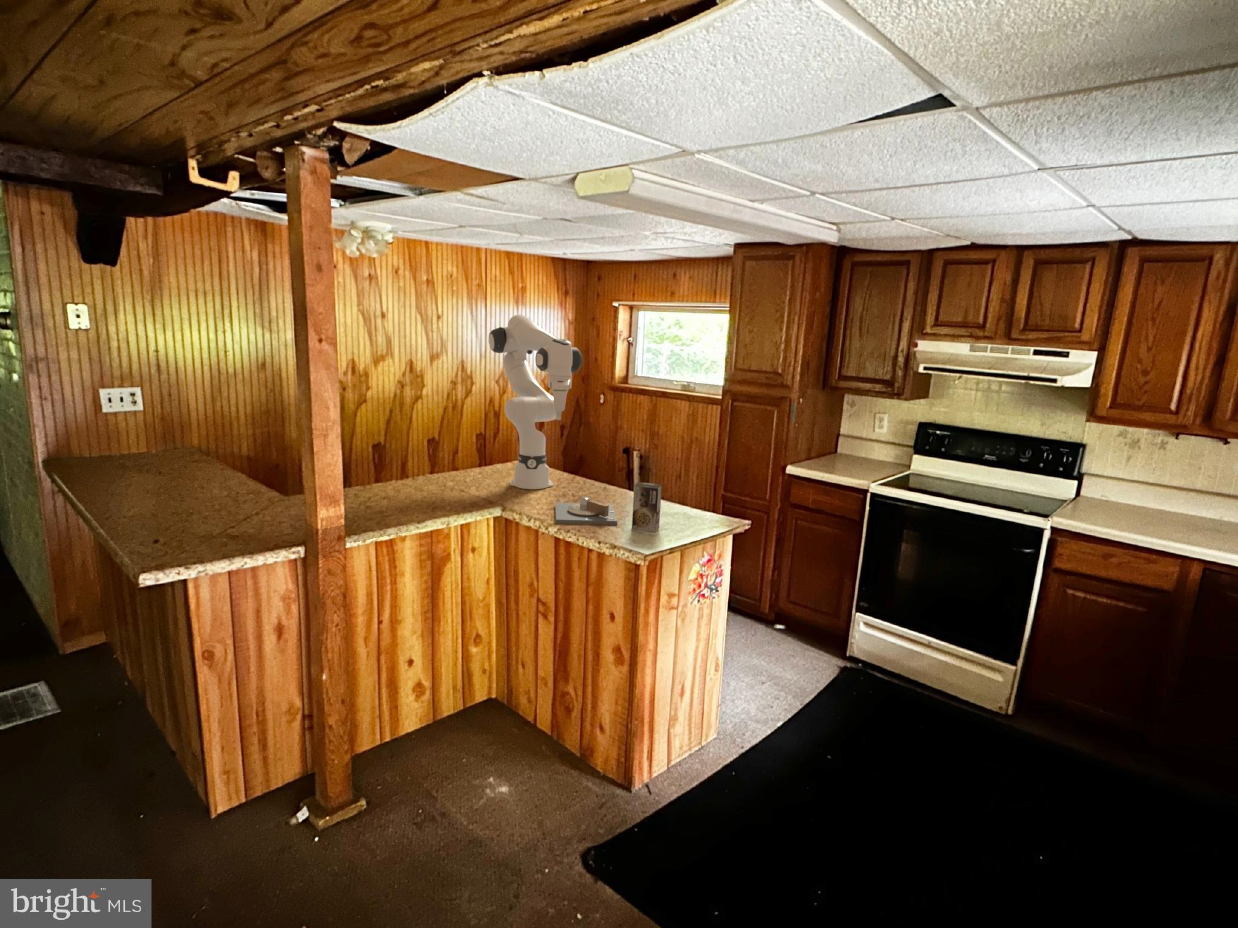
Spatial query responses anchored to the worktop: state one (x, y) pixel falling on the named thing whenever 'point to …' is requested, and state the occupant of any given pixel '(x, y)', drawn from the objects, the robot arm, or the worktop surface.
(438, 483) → the worktop surface
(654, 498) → the coffee box
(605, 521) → the dial plate
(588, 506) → the dial
